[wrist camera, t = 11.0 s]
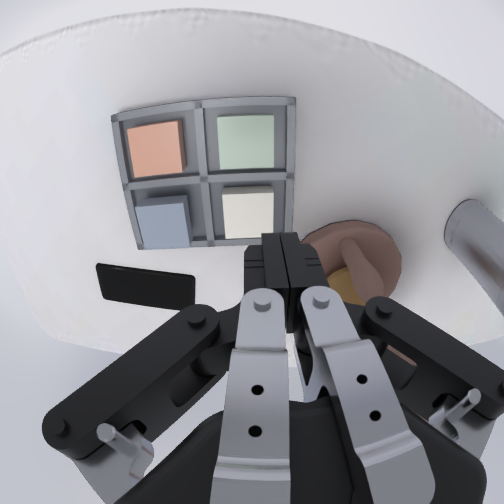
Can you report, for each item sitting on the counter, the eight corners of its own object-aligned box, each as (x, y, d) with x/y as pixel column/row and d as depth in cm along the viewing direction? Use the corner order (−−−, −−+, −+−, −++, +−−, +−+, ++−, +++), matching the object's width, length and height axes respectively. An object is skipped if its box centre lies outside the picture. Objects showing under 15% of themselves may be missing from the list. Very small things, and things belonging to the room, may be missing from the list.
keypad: (291, 96, 24) (295, 97, 22) (288, 233, 33) (290, 243, 31) (119, 112, 23) (110, 115, 22) (143, 240, 32) (138, 249, 31)
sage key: (271, 113, 23) (273, 115, 22) (271, 161, 26) (273, 167, 25) (218, 115, 23) (216, 117, 22) (221, 163, 26) (220, 169, 25)
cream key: (271, 185, 28) (273, 192, 26) (271, 227, 31) (273, 236, 29) (223, 187, 28) (221, 194, 26) (226, 229, 30) (225, 238, 29)
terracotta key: (181, 118, 23) (177, 121, 22) (186, 166, 26) (182, 172, 24) (134, 126, 23) (127, 129, 22) (141, 171, 26) (134, 177, 24)
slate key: (186, 195, 26) (182, 203, 25) (193, 237, 29) (190, 247, 28) (141, 199, 26) (134, 207, 25) (150, 239, 29) (145, 249, 28)
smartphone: (94, 264, 34) (195, 277, 36) (96, 260, 35) (195, 273, 36) (102, 299, 38) (194, 312, 39) (104, 296, 38) (195, 308, 40)
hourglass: (286, 216, 31) (346, 443, 11) (410, 222, 32) (520, 372, 12) (274, 319, 41) (293, 481, 21) (375, 314, 42) (425, 447, 22)
